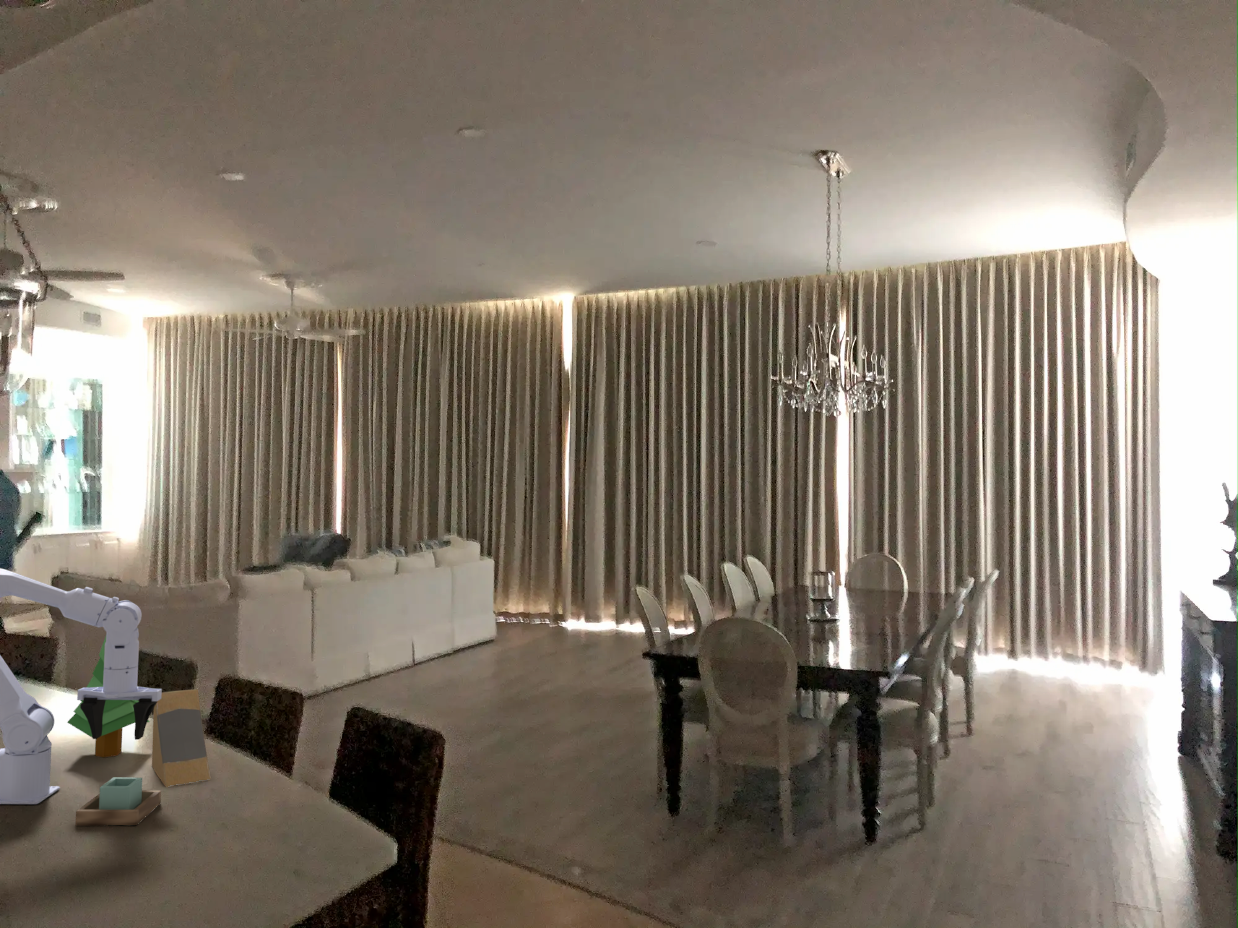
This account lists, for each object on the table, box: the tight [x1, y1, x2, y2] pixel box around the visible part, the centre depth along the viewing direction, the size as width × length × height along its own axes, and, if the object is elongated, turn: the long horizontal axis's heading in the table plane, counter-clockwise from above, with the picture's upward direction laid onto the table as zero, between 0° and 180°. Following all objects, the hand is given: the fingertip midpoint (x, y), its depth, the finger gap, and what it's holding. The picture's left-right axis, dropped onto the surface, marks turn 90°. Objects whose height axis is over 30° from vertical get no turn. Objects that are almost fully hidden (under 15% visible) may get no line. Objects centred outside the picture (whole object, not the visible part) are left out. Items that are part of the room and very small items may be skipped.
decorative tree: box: [66, 636, 150, 758], centre depth 191 cm, size 14×16×30 cm
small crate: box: [99, 776, 143, 810], centre depth 159 cm, size 5×5×5 cm
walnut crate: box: [75, 789, 162, 827], centre depth 159 cm, size 10×10×2 cm
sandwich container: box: [151, 688, 212, 788], centre depth 181 cm, size 9×15×15 cm, turn 37°
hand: (118, 737), depth 171 cm, fingers open, 7 cm apart
